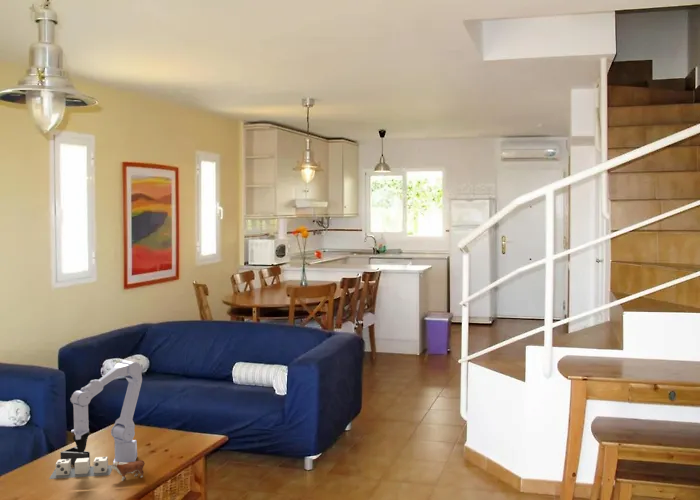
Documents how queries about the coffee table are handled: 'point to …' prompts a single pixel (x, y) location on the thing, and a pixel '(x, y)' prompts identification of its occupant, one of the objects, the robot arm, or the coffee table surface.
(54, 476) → the slate mat
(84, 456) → the door stopper
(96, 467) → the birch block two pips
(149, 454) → the coffee table surface
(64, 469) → the birch block three pips
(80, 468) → the birch block plain
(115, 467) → the bull figurine
